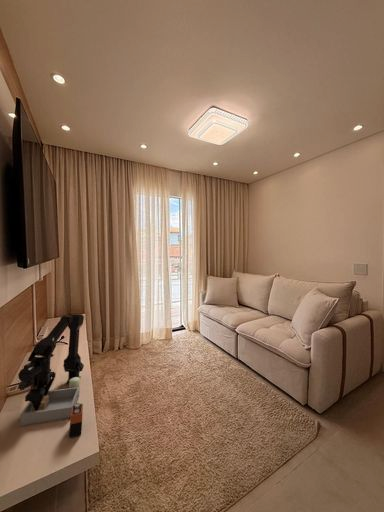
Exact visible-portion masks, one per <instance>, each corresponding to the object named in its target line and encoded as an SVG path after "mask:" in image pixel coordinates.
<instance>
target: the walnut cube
mask: <svg viewBox="0 0 384 512" xmlns="http://www.w3.org/2000/svg"><path fill="white" fill-rule="evenodd" d="M48 402H49V396H44V397H43V400H42V402H41V404H40V407H39V409H38V410H37V411H41V410H46V409H47V407H48ZM34 411H35V409H34V407H33V404H32V412H34Z"/></svg>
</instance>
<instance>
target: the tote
mask: <svg viewBox="0 0 384 512" xmlns="http://www.w3.org/2000/svg"><path fill="white" fill-rule="evenodd" d="M80 387H81V386H80ZM80 387H76V388H69V387H68V388H62V389H60V388H59V389H54V390H52V389H51V390H49V391H48V393H47V395H46V396H49V402H48V407H47V409H46V410H41V411H34V412H32V402H31V401H28V403H27V405H26V406H25V408H24V409H23V411H22V412H21V413H20V418H19V427H25V426H32V425H38V424H42V423H49V422H50V423H51V422H57V421H63V420H64V421H65V420H70V415H71V409H72V406H73V405H75V404H76V403H77V402H78V401H79V397H80Z"/></svg>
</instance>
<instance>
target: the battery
mask: <svg viewBox="0 0 384 512" xmlns="http://www.w3.org/2000/svg"><path fill="white" fill-rule="evenodd" d="M83 409H84V403H79V402H78V403H76V404H75V405H73V406H72V409H71V415H70V419H69V434H68V436H69V438H70V439H72V438H75V437H79V436H81V435H82V430H83V428H82V427H83V415H84V414H83V413H84V411H83Z"/></svg>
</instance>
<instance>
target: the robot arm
mask: <svg viewBox="0 0 384 512" xmlns="http://www.w3.org/2000/svg"><path fill="white" fill-rule="evenodd" d="M84 320H85V317H84V315H83V314H80V313H70V314H69V315H62V316H61V317H60V319H59V321H58V322H57V324H56V325H55V326H54V327H53V328H52V329H51V331H50V332H49V333H48V335H47V336H46V337H43V339H40V340H39V341H38V342H37V343H36V344H35V345H34V347H33V349H32V352H31V353H30V355H29V357H28V359H27V362H29V363H26V364H24V365H23V368H22V369H20V371H19V372H18V375H17V377H18V380H19V381H20V382H19V383H18V384H17V386H18V387H17V388H18V389H19V391H23V390H24V391H25V389H28V388H30V387H31V388H34V389H30V390H29V391H28V392H27V394H26V395H25V397H24V401H25V402H30V401H31V402H32V404H33V407H34V409H35V411H37V410H38V409H39V407H40V404H41V402H42V400H43V397H44V396H46V395H47V393H48V391H50V389H51V387H52V385H53V384H54V381H55V378H56V372H55V371H52V368H51V359H52V357H54V350H55V349H56V347H57V342H58V340H59V339H60V337H61V336H62V334H63V333H64V331H66V329H67V328H68V330H69V339H68V352H67V356H66V358H65V359H64V360H63V365H62V366H63V369H64V373H66V372H67V373H68V376H67V381H66V382H65V383H66V385H69V380H70V379H71V378H74V377H79V378H80V379H81V377H82V376H80V373H81V372H83V369H84V367H85V366H84V364H83V362H81V361H82V359H81V356H80V353H79V342H80V341H79V340H80V329H81V327H83V323H84Z"/></svg>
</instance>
